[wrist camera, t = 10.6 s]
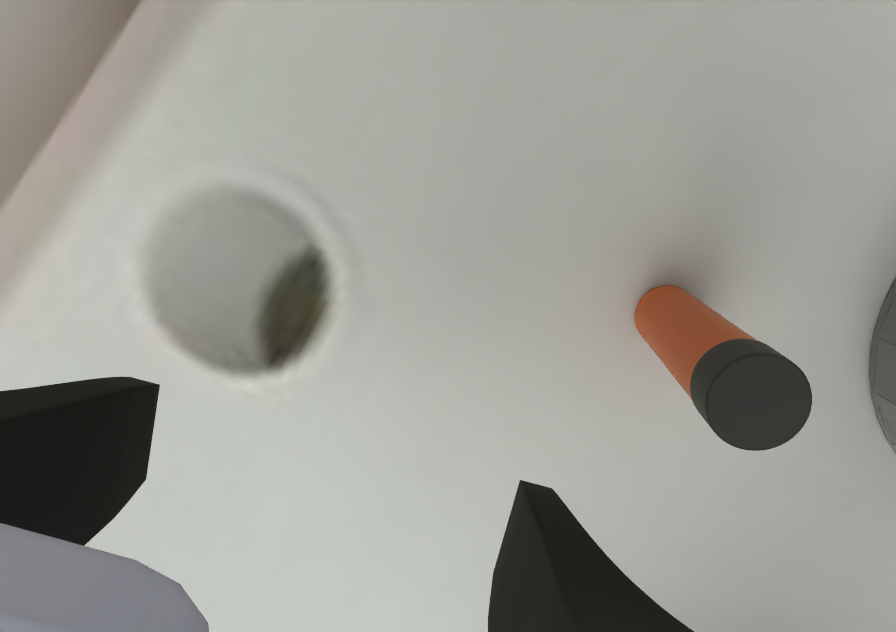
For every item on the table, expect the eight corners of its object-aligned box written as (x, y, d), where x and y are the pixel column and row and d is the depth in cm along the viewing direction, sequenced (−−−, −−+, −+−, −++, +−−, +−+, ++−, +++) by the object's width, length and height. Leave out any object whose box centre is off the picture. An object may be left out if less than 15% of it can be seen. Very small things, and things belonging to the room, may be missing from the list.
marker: (687, 353, 22) (791, 462, 14) (624, 337, 22) (692, 436, 14) (707, 292, 22) (828, 368, 13) (643, 277, 22) (725, 342, 13)
